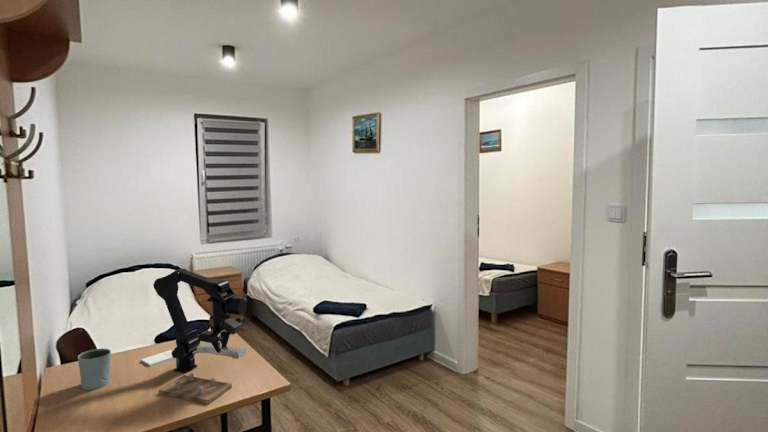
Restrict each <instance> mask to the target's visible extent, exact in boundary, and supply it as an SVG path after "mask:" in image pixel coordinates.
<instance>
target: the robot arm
mask: <svg viewBox="0 0 768 432" xmlns="http://www.w3.org/2000/svg"><path fill="white" fill-rule="evenodd" d="M180 282H182V283H185V284H189V285H190V286H193V287H196V288H198V289H200V290H203V291H204V292H205V293H206V294H207V295H208V296H209V297H208V298H207V299H206V302H209V303H210V302H211V311H212V312H211V313H212V316H210V315H209V318H210V319H212V320H213V325H212V326H210V327H209V329H210V330H208V329H207V330H204V331H202V332H200V333H199V331H198V330H197V329H195V330H194V329H192V328H191V327H190V325H189V322H188V319H187V317H186V314H185V312H184V309H183V307H182V304H181V302H180V298H179V296H178V292H179V283H180ZM152 284H153V289H154V291H155V292H156V294H157V296H159V297H160V298H161V299H162V300H164V303H165V305H166V307H167V311H168V314H169V316H170V319H171V321H172V324H173V326H174V329H175V333H176V337H175V345H176V347H175V348H174V349H173V350H171V351H172V352H171V354H172V357H173V358H174V359H175V363H176V364H175V365H176V366H175V368H173V371H175V372H180V373H185V374H186V373H189V372H190V371H191V370H193V369H195V368H197V367H198V365H197V364H196V360H195V359H196V358H195V352H197V346H199V345H201V342H203V343H204V342H209V343H210V342H211V343H212V345H213V347H214V348H215V350H216V352H217V353H220V343H221V345H222V346H227V347H228V342H229V339H230V336H231V335H235V334H237V333H239V332H240V330H241V328H242V327H244V321H243V320H244V319H243V317H241V316H243V315H244V314H245V313H246V311H247V307H248V304H247V302H246V300H244V297H243V296H237V295H236V293H235V291H234V290H233V289H232V287H231V285H230V283H229V281H228V280H226V279H223V278H222V279H221V278H210V277H206V276H203V275H202V274H199V273H195V272H192V271H189V270H188V269H186V268H180V269H176V270H174V271H173V272H171V273H170V274H167V275H165V276H162V277H158V278H156V279H155V280H154V283H152ZM232 315H236V316H237V315H238V316H239V317H237V318H232ZM211 329H213V330H214V331H211Z"/></svg>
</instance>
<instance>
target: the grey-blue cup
mask: <svg viewBox="0 0 768 432" xmlns="http://www.w3.org/2000/svg"><path fill="white" fill-rule="evenodd" d="M111 354H112V350H110V349H109V348H96V349H90V350H87V351H84V352H81V353H80V354H78V355H77V362H78V369H79V376H80V383H81V385H80V386H81V389H82V390H84V391H93V390H97V389H100V388H103V387H106V386H107V385H108V384H109V382H110V371H111V370H110V367H111V366H110V364H111Z"/></svg>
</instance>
